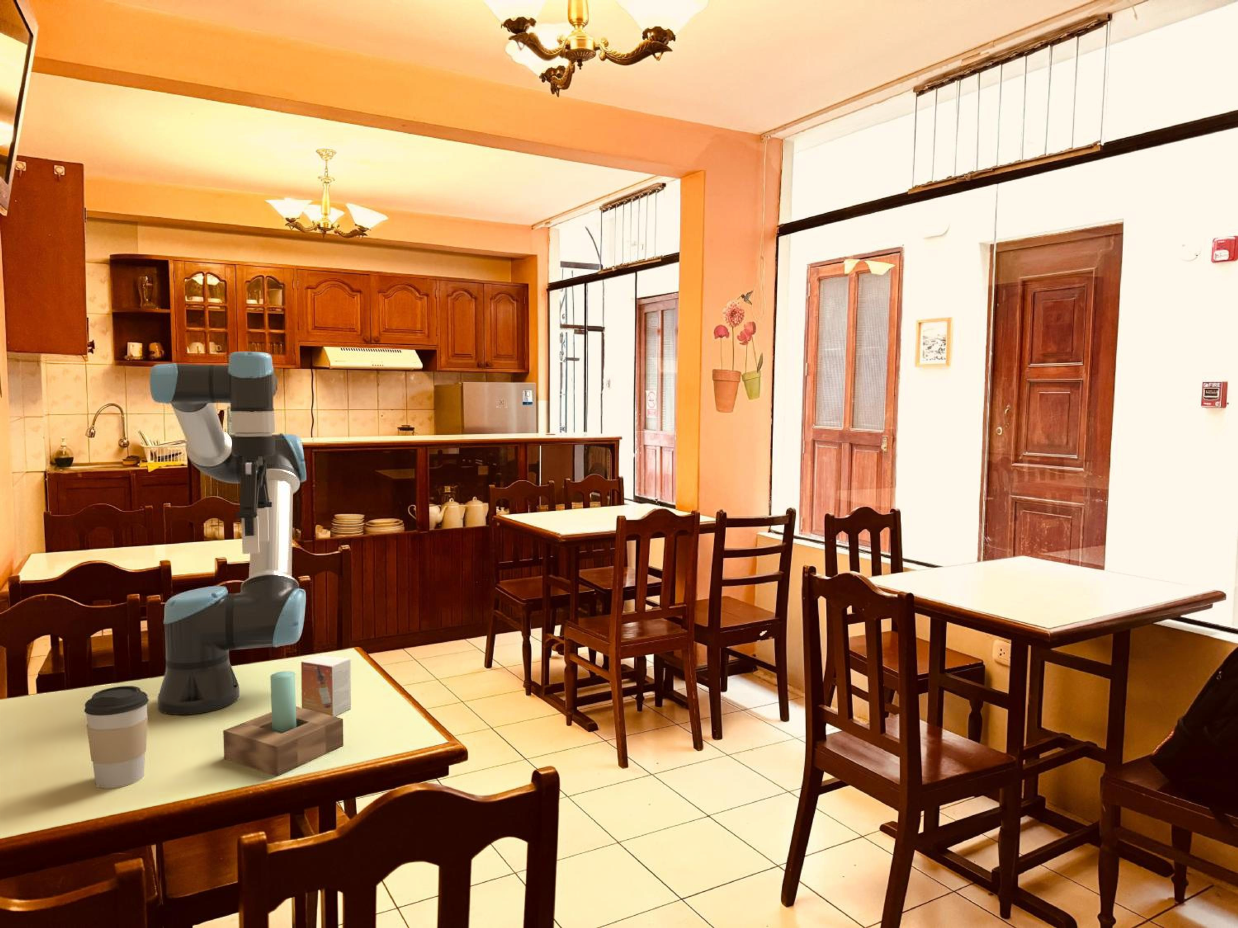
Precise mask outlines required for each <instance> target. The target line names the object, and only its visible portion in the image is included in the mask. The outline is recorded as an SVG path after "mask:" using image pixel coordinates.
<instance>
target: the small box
mask: <svg viewBox="0 0 1238 928" xmlns="http://www.w3.org/2000/svg"><path fill="white" fill-rule="evenodd" d="M351 664H352V663H351V658H348V657H347V658H343V657H337V656H329V655H325V654H317V655H315V656H313V657H310V658H307V659H305V660H302V661H301V663H300V669H301V671H300V672H301V673H300V674H301V680H300V681H301V683H300V684H301V689H300V690H301V693H300V694H301V708H304V709H308V710H312V711H315V712H319V713H323V714H327V715H331V716H334V717H337V716H339V715H341V714H344V713H346V712H347V711H349V710H350V709H352V693H351V692H352V689H351V688H352V687H351V686H352V684H351V683H352V682H351V679H352V678H351V675H352V673H351V670H352V668H351V666H352V665H351Z"/></svg>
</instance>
